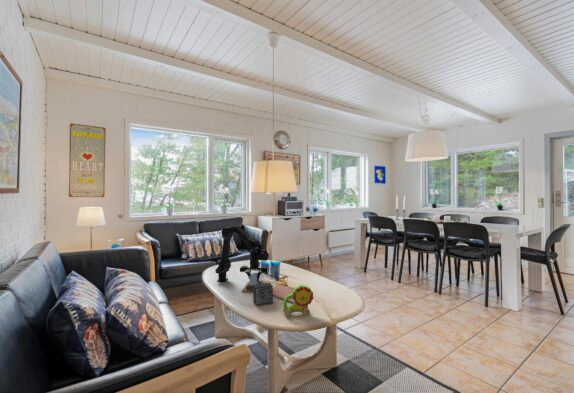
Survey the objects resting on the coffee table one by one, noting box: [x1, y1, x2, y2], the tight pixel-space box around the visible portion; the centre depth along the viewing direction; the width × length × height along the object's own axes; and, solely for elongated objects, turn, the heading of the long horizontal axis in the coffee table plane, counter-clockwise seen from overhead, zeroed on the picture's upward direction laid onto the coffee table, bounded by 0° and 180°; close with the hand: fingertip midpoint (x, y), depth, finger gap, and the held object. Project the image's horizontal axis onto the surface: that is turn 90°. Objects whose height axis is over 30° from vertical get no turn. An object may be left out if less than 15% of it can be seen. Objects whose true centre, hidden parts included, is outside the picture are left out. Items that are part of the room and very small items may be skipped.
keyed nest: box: [241, 279, 268, 293], centre depth 195 cm, size 18×13×3 cm
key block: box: [248, 272, 259, 286], centre depth 195 cm, size 4×9×7 cm, turn 173°
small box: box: [252, 282, 274, 306], centre depth 169 cm, size 11×6×10 cm, turn 109°
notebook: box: [273, 284, 295, 305], centre depth 182 cm, size 27×17×2 cm, turn 44°
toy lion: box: [283, 284, 314, 318], centre depth 153 cm, size 16×5×15 cm, turn 99°
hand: (254, 281), depth 195 cm, fingers closed on key block, 4 cm apart
